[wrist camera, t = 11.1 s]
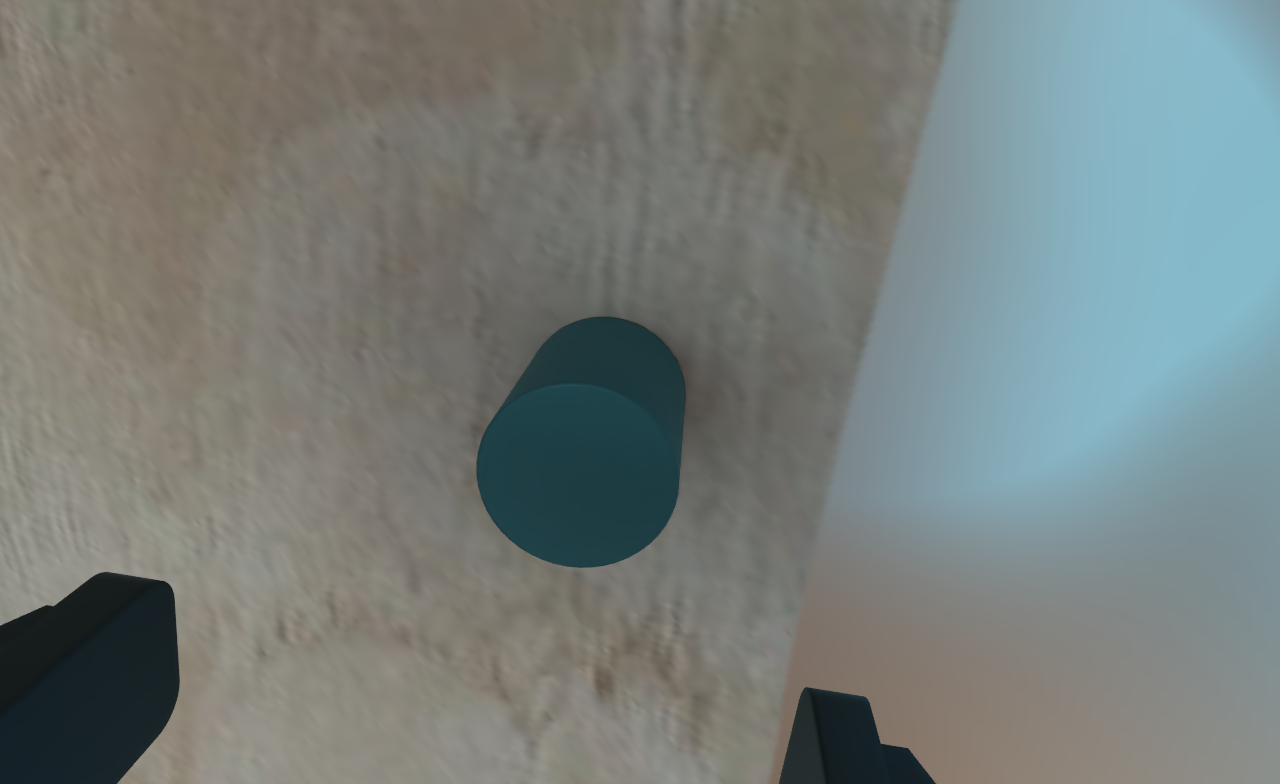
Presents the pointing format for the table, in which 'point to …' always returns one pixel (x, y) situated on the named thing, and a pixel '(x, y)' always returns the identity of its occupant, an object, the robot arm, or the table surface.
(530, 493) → the teal cylinder
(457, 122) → the table surface
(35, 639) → the robot arm
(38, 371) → the table surface
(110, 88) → the table surface
